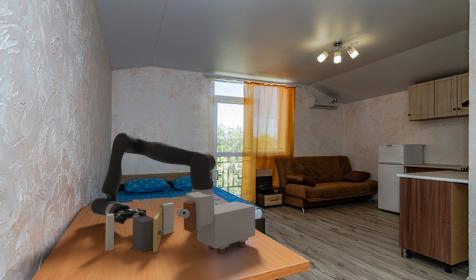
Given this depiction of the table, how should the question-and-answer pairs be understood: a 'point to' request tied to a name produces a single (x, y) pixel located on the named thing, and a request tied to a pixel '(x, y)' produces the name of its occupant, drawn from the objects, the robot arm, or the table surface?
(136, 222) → the rubber block
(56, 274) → the table surface
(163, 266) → the table surface
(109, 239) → the wall frame
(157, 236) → the door
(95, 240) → the table surface
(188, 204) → the toy
